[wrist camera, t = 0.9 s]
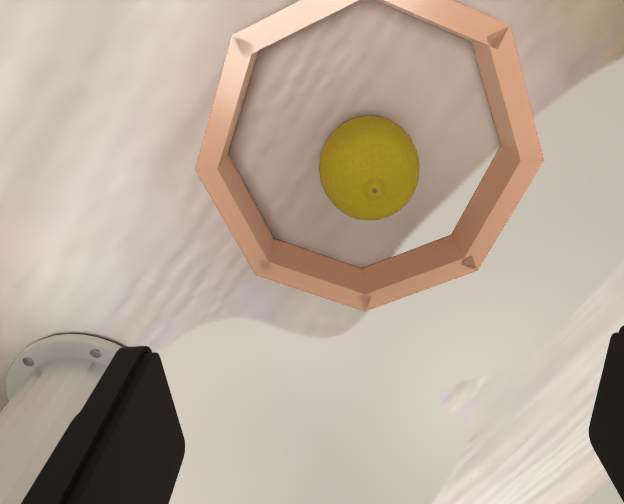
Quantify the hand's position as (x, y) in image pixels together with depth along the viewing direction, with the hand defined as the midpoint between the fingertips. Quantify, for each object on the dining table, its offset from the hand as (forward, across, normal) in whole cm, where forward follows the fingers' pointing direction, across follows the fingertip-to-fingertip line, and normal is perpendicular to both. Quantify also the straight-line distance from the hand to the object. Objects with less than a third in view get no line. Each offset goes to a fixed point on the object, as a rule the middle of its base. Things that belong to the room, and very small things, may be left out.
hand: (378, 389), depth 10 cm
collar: (+23, -1, +2) cm, 23 cm away
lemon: (+23, -1, +2) cm, 23 cm away
